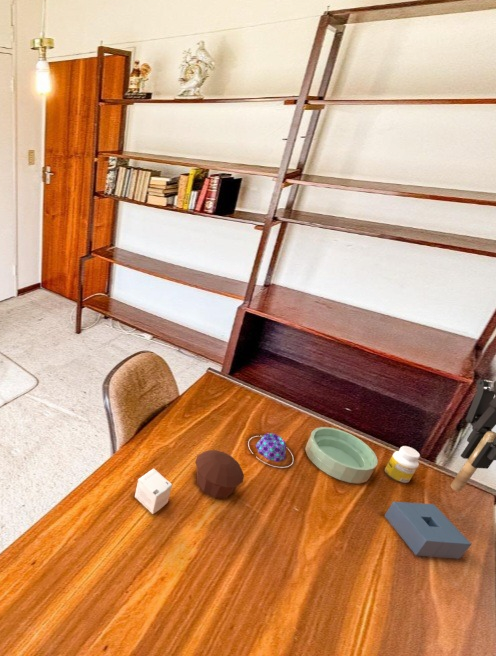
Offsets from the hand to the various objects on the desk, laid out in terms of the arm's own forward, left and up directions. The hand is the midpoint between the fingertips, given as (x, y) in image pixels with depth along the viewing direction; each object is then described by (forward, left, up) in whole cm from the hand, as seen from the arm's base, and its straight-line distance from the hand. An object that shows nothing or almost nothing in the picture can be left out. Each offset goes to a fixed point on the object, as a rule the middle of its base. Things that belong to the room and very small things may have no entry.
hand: (473, 461), depth 83 cm
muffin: (+45, -11, -26) cm, 53 cm away
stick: (0, 0, -9) cm, 9 cm away
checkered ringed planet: (+24, -24, -26) cm, 43 cm away
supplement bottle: (-8, -18, -26) cm, 32 cm away
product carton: (+63, -5, -26) cm, 68 cm away
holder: (0, 0, -25) cm, 25 cm away
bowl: (+6, -22, -25) cm, 34 cm away
